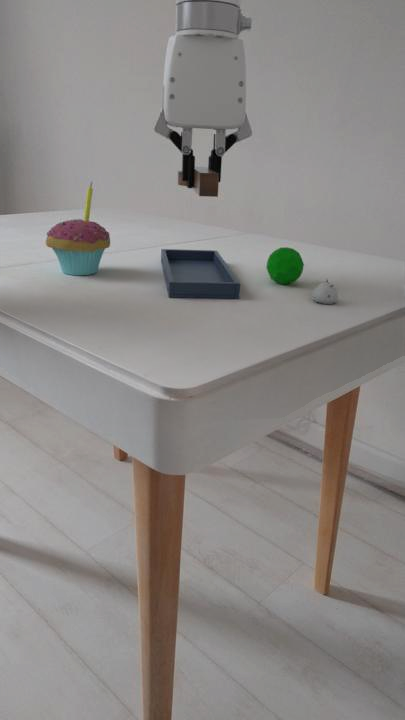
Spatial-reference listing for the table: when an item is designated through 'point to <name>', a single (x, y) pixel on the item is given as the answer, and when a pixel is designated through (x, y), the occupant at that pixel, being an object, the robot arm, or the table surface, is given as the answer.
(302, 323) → the table surface
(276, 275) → the polyhedron
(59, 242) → the cupcake
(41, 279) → the table surface
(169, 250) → the tray
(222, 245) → the table surface
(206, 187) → the disc-ended wooden bar
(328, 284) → the white bumpy lump
